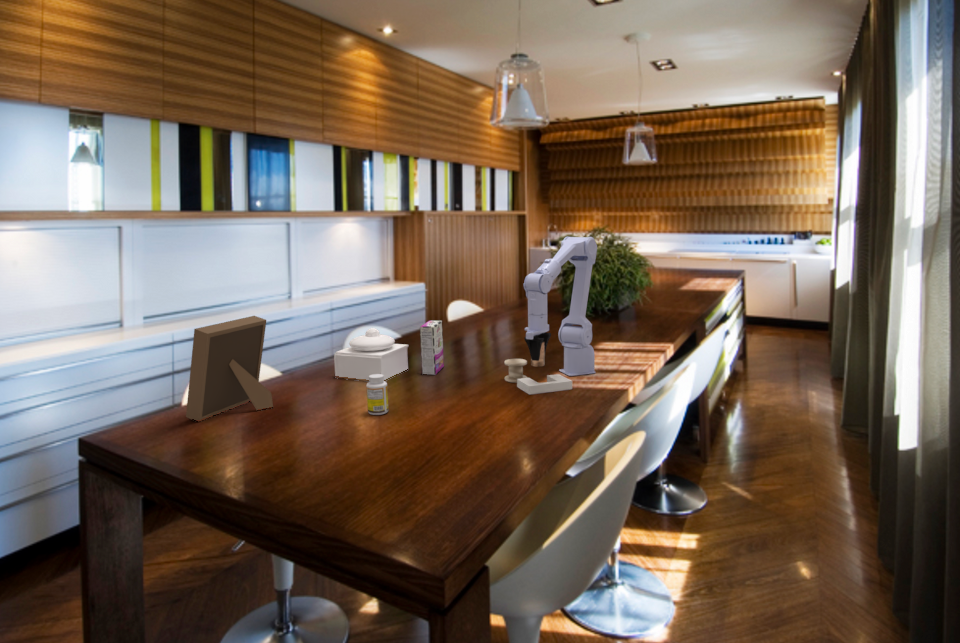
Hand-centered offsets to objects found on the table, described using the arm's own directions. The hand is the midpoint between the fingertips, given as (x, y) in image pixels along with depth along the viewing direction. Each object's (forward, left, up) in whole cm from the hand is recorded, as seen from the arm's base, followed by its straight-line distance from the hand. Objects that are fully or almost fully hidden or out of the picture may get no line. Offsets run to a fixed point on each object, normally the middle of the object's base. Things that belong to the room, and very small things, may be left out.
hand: (538, 358), depth 195 cm
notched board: (-1, +2, -9) cm, 9 cm away
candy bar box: (+24, -33, -9) cm, 41 cm away
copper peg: (0, 0, -2) cm, 2 cm away
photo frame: (+85, -11, -9) cm, 87 cm away
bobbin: (+3, -11, -9) cm, 14 cm away
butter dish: (+43, -38, -9) cm, 58 cm away
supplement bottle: (+50, +5, -9) cm, 51 cm away
